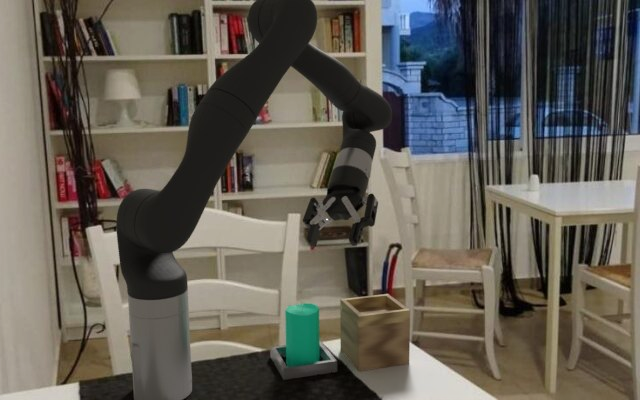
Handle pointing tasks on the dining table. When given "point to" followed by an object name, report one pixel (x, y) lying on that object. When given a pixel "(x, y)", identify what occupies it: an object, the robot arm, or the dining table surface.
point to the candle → (302, 334)
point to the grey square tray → (303, 369)
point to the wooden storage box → (375, 331)
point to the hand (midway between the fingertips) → (331, 244)
